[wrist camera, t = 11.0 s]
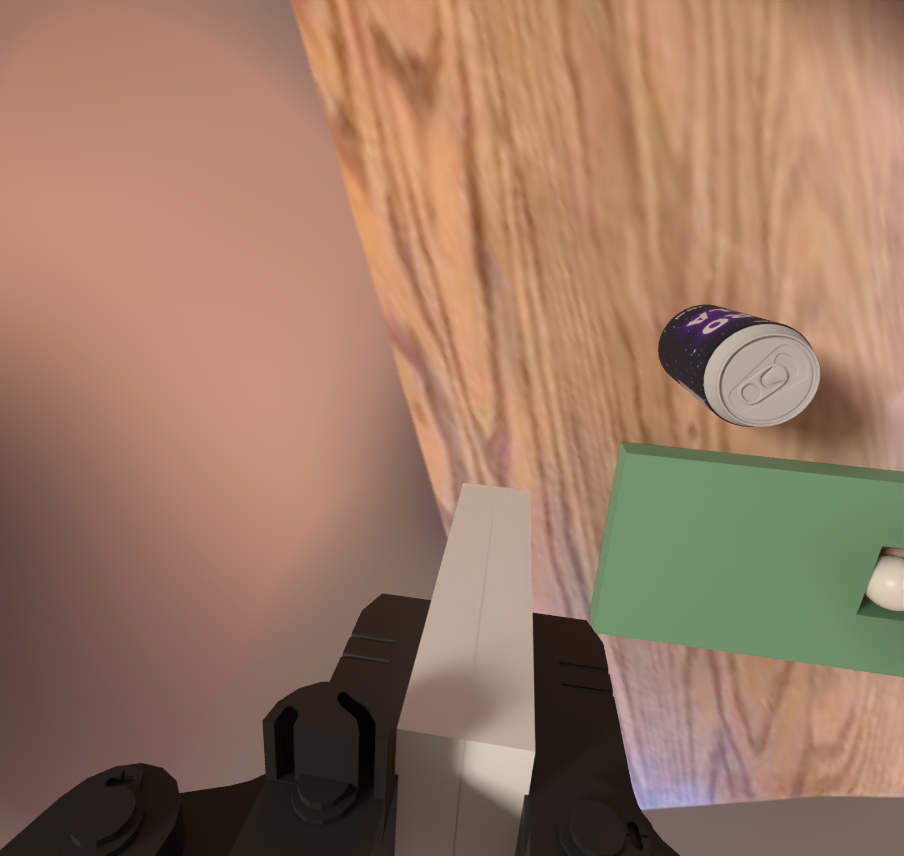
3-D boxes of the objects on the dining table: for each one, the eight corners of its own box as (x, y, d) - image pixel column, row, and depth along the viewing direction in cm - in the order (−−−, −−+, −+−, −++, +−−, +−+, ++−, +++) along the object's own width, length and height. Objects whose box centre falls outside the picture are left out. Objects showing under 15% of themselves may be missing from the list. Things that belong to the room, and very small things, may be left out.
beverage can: (755, 347, 38) (853, 387, 26) (686, 397, 40) (751, 455, 28) (707, 286, 37) (787, 300, 26) (639, 340, 39) (686, 376, 27)
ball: (868, 561, 39) (939, 584, 36) (869, 539, 42) (935, 559, 39) (851, 606, 40) (919, 630, 38) (854, 581, 43) (917, 603, 41)
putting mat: (620, 441, 41) (626, 453, 39) (1016, 483, 38) (1048, 498, 36) (589, 613, 46) (593, 632, 44) (936, 661, 43) (960, 685, 41)
